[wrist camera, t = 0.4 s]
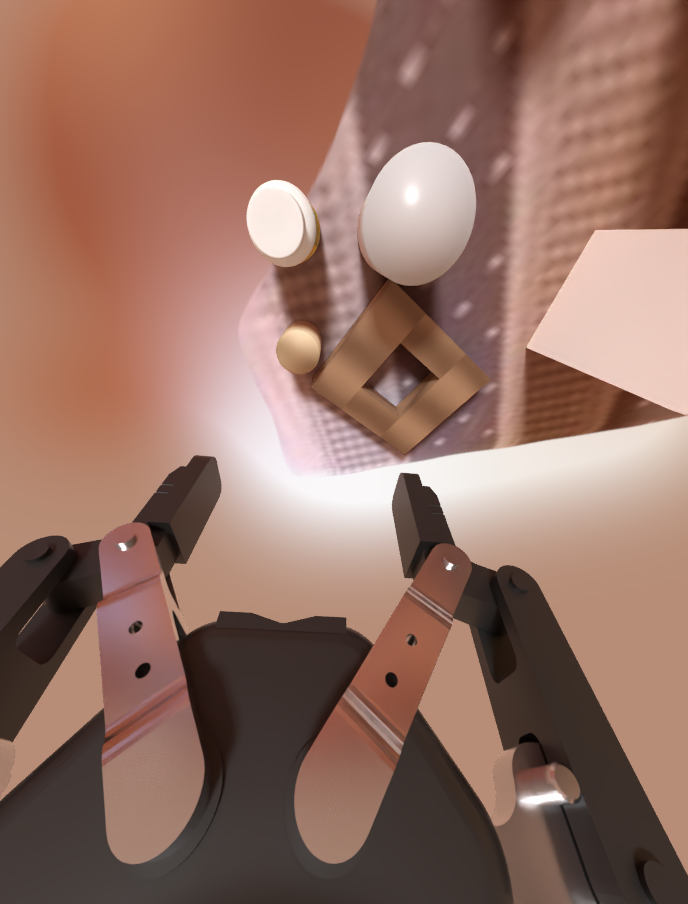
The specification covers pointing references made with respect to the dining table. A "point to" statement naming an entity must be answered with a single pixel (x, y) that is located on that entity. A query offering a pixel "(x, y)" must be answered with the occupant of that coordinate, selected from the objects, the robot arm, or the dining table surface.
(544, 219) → the dining table surface
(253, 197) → the supplement bottle
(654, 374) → the milk
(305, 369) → the short peg
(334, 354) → the board
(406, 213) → the white rounded capsule
